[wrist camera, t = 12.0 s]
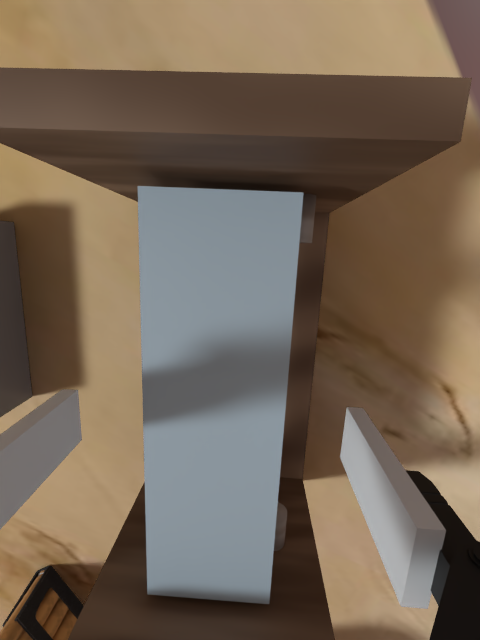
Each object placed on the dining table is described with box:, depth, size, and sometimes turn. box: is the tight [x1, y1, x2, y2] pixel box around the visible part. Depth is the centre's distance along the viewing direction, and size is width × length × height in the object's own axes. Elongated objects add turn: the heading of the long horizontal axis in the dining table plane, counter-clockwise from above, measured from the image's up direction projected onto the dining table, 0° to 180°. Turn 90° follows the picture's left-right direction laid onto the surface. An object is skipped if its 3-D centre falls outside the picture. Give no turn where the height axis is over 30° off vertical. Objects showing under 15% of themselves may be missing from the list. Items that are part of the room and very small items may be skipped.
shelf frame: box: [0, 68, 472, 640], centre depth 19 cm, size 26×14×17 cm, turn 177°
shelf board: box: [138, 186, 303, 604], centre depth 17 cm, size 22×7×4 cm, turn 177°
